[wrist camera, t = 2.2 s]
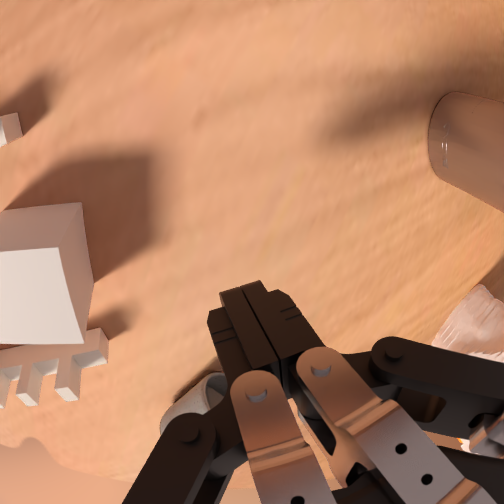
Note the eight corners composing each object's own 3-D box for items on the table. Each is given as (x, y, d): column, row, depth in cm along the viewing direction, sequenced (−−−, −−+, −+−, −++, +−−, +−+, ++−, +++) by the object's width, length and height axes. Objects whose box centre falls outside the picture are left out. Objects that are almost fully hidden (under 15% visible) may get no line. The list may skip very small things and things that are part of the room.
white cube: (3, 209, 15) (-38, 254, 10) (82, 201, 16) (58, 246, 12) (23, 286, 17) (-1, 344, 12) (94, 282, 19) (84, 344, 14)
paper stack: (478, 260, 35) (596, 368, 13) (498, 306, 48) (569, 377, 27) (388, 370, 40) (480, 495, 19) (437, 379, 54) (499, 457, 33)
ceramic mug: (150, 404, 27) (161, 470, 21) (195, 361, 26) (216, 435, 20) (225, 422, 33) (244, 475, 27) (271, 386, 32) (298, 442, 25)
